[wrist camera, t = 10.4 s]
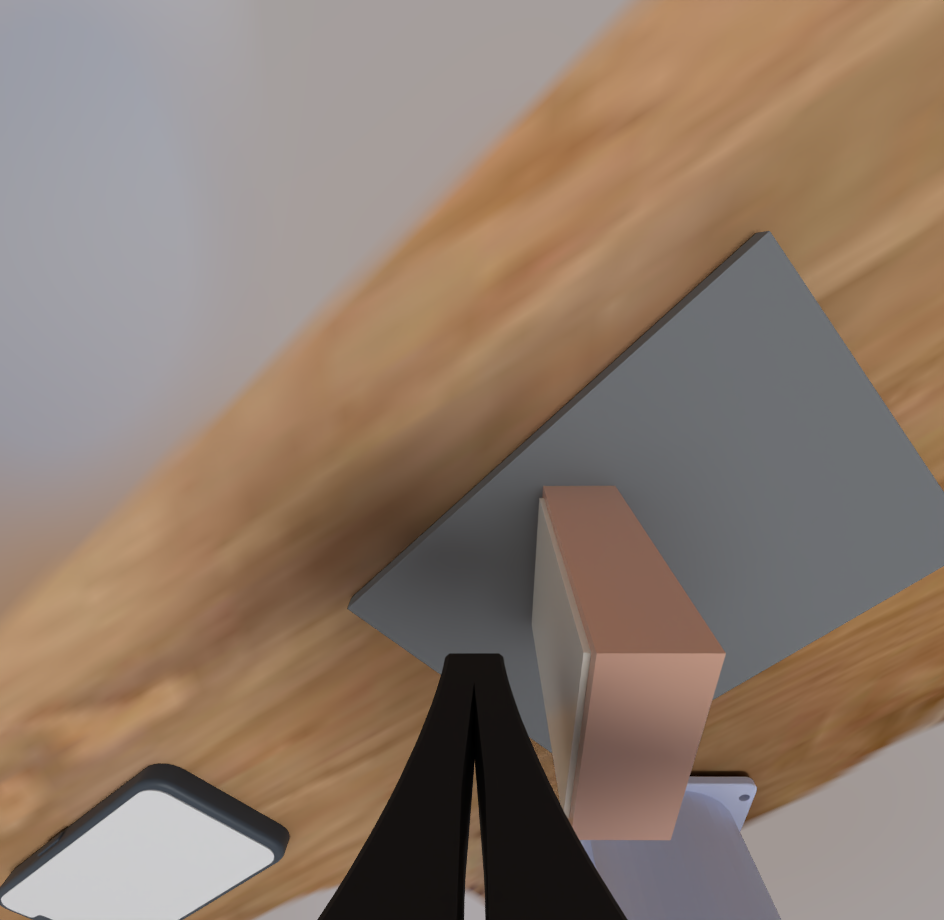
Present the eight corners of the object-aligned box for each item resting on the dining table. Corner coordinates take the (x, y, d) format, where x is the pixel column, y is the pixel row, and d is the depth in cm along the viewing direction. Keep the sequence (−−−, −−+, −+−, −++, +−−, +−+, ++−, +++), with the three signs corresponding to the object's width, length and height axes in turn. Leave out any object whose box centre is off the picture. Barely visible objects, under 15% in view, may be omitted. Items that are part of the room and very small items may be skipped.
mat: (756, 233, 12) (769, 231, 12) (962, 535, 16) (979, 545, 15) (351, 597, 17) (347, 608, 17) (580, 761, 21) (583, 775, 21)
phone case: (167, 741, 22) (9, 866, 26) (145, 775, 20) (-19, 902, 24) (305, 821, 24) (142, 923, 28) (295, 856, 23) (124, 959, 27)
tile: (596, 624, 17) (670, 840, 10) (530, 624, 17) (564, 839, 11) (615, 485, 15) (726, 653, 8) (538, 485, 15) (588, 653, 8)
